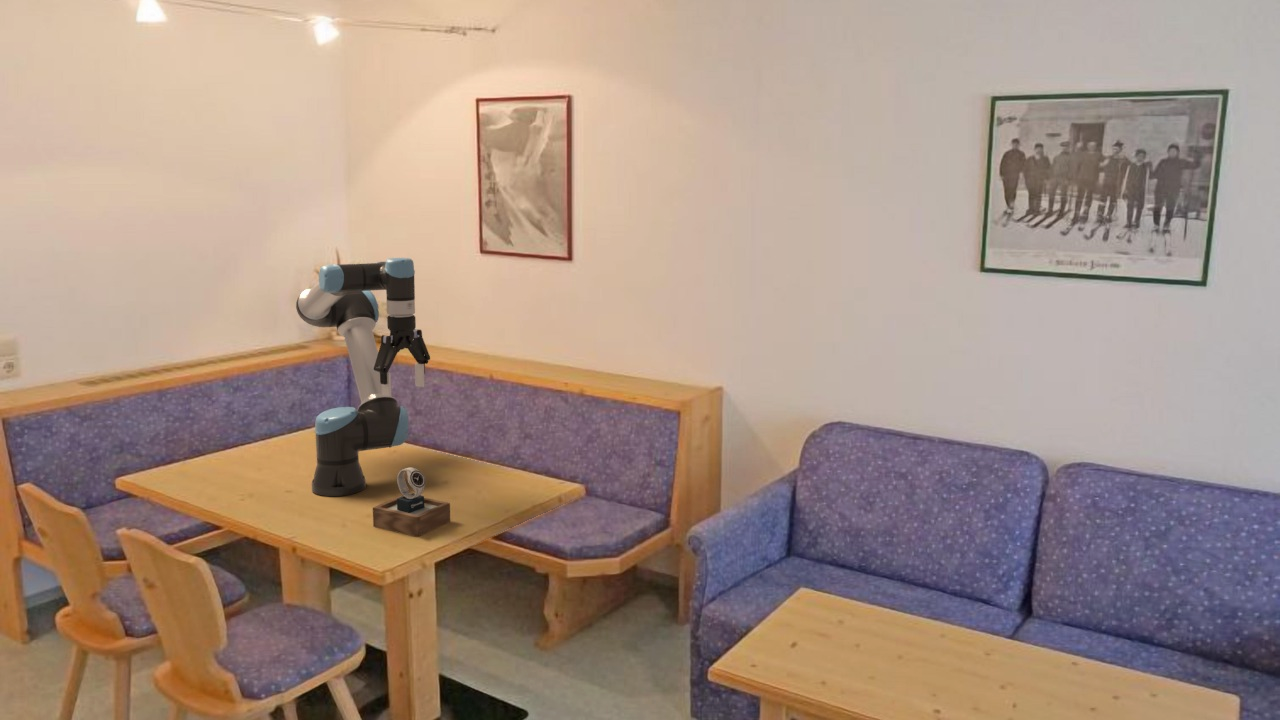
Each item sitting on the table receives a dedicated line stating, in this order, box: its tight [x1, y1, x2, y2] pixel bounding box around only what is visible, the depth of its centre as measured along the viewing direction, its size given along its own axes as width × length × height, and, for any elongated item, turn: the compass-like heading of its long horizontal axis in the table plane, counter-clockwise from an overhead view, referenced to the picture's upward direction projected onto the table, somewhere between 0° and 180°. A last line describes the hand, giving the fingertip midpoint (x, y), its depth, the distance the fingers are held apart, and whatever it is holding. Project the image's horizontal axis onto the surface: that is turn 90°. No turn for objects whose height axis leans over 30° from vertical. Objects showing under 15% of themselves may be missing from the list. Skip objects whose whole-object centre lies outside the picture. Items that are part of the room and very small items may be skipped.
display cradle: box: [372, 494, 451, 538], centre depth 263 cm, size 15×13×5 cm
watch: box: [396, 467, 426, 513], centre depth 262 cm, size 6×8×11 cm
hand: (403, 391), depth 276 cm, fingers open, 13 cm apart
